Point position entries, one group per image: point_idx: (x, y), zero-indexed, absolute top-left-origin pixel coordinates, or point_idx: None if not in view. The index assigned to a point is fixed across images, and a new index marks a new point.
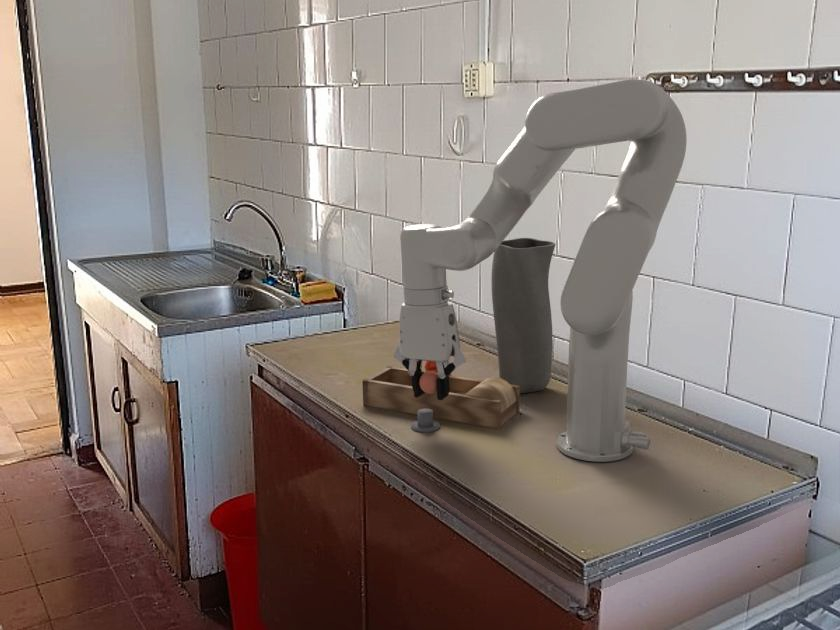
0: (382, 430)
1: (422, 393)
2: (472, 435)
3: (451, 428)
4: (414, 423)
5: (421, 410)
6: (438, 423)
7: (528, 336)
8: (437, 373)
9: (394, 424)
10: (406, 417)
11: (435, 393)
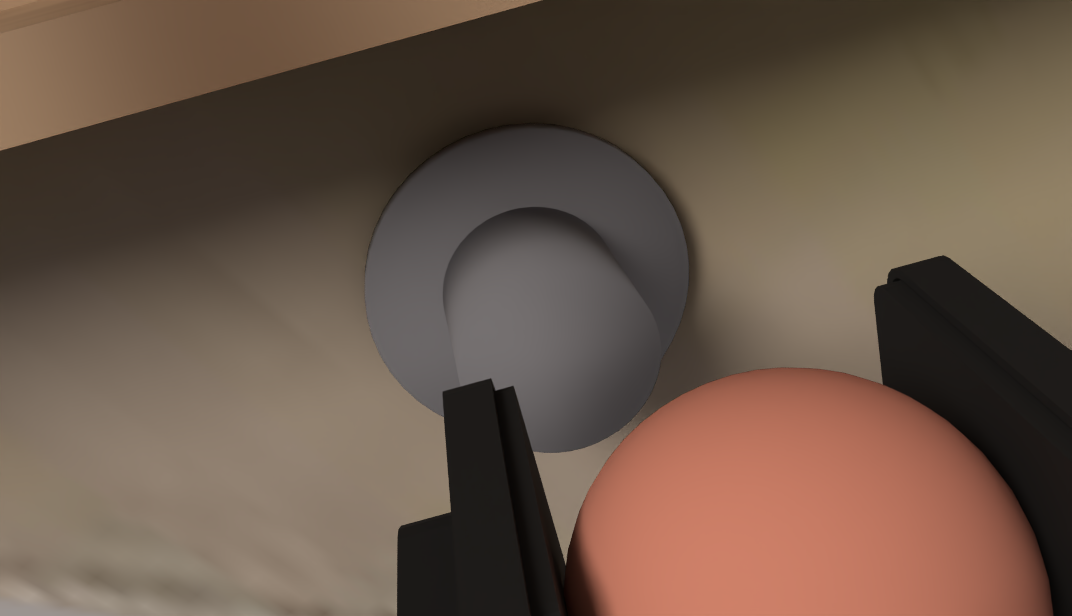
0: (258, 613)
1: (539, 478)
2: (1055, 118)
3: (774, 117)
4: (409, 343)
5: (502, 374)
6: (617, 161)
7: None
8: (991, 604)
9: (214, 445)
10: (130, 215)
11: (438, 26)
